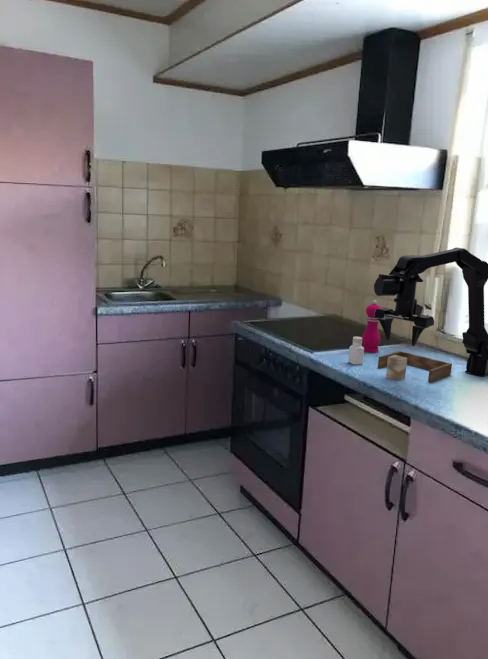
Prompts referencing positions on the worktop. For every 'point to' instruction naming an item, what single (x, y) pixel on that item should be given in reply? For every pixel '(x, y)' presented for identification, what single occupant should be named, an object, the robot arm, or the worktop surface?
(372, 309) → the pepper mill
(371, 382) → the worktop surface
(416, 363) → the wooden u-shaped frame
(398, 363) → the maple block
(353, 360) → the salt shaker
